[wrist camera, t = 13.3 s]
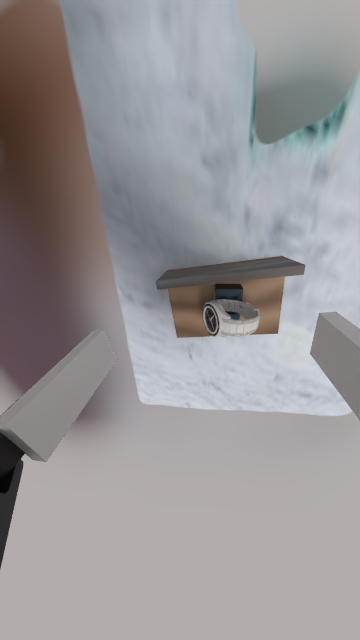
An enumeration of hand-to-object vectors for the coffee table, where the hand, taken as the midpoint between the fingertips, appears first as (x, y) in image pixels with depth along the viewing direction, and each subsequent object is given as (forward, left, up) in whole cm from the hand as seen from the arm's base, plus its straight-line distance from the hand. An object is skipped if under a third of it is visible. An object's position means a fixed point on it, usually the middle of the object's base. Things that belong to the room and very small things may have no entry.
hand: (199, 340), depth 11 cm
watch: (+6, +3, -22) cm, 23 cm away
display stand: (+7, +3, -24) cm, 25 cm away
